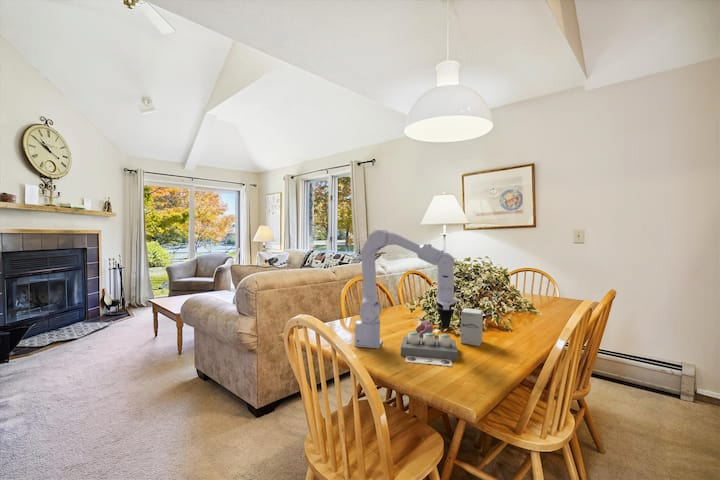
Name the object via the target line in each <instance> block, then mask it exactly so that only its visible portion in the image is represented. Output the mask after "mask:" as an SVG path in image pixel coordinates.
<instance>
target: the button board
mask: <svg viewBox="0 0 720 480" xmlns="http://www.w3.org/2000/svg"><path fill="white" fill-rule="evenodd" d="M401 355H403V357H406V356H414V357H425V358H436V359H447V360H451V361H456V362H457V361H458V346H457V342H456V340H455V339H451V348H448V347H439V338H435V346H424V345H423V338H420V337H419V345H412V344H408V336H403V339H402V342H401V346H400V356H401Z"/></svg>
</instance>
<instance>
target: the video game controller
mask: <svg viewBox="0 0 720 480" xmlns="http://www.w3.org/2000/svg"><path fill="white" fill-rule="evenodd" d="M415 332H417V333H419V338H423V334H425V333H433V332H434V326H433V324H432V322H431V321H429V320H424V321H423V322H421V324H419V325H418V326H417V327H416V328H415Z"/></svg>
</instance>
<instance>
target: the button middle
mask: <svg viewBox="0 0 720 480" xmlns="http://www.w3.org/2000/svg"><path fill="white" fill-rule="evenodd" d="M435 339H436V335H435V334H434V333H433V332H431V333H425V334H423V345H424V346H435Z"/></svg>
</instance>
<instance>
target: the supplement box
mask: <svg viewBox="0 0 720 480" xmlns="http://www.w3.org/2000/svg"><path fill="white" fill-rule="evenodd" d="M483 315H484V310H483V309H476V308H467V307H464V308H463V309H462V310H461V312H460V342H459V343H460V344H463V345H464V344H465V345H471V346H477V347H480V346H481V344H482V342H483V341H482V340H483V325H484V324H483V321H484V320H483V318H484V317H483Z"/></svg>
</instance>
